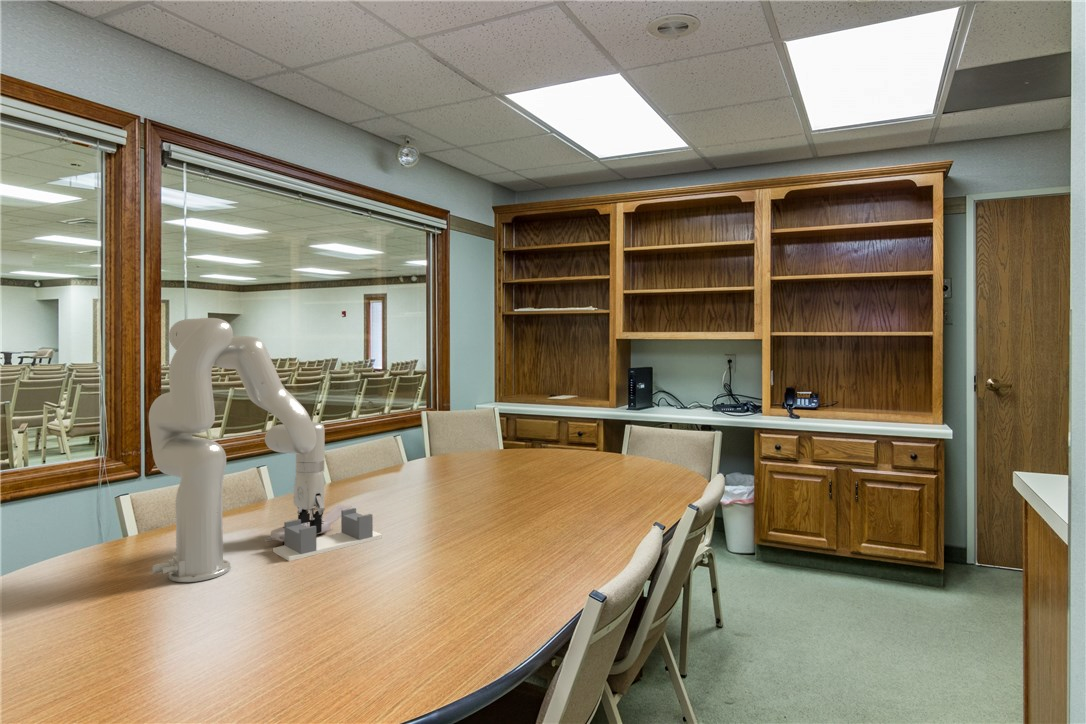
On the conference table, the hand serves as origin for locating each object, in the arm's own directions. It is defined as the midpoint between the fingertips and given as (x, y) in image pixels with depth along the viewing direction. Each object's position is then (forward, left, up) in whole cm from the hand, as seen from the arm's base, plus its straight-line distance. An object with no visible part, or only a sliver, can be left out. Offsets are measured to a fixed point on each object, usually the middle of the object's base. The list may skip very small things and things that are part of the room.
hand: (309, 530), depth 170 cm
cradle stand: (+1, -11, -2) cm, 11 cm away
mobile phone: (0, 0, -1) cm, 1 cm away
